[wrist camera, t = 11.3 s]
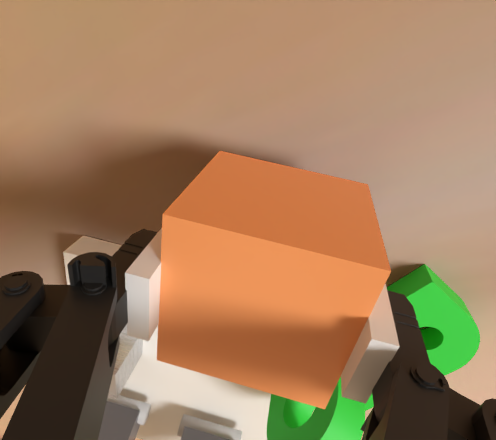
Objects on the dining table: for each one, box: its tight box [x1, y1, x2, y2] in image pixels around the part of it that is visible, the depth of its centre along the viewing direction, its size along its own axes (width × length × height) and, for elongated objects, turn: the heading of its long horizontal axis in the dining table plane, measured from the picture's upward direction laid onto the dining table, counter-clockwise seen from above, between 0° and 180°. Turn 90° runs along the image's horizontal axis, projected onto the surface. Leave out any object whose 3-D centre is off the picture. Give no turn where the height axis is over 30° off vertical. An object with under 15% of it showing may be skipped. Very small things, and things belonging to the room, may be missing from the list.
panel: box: [63, 235, 271, 440], centre depth 25 cm, size 18×17×2 cm
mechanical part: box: [267, 264, 480, 440], centre depth 19 cm, size 12×6×8 cm, turn 139°
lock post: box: [108, 325, 143, 400], centre depth 22 cm, size 2×2×4 cm
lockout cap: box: [157, 151, 391, 409], centre depth 14 cm, size 6×6×6 cm
